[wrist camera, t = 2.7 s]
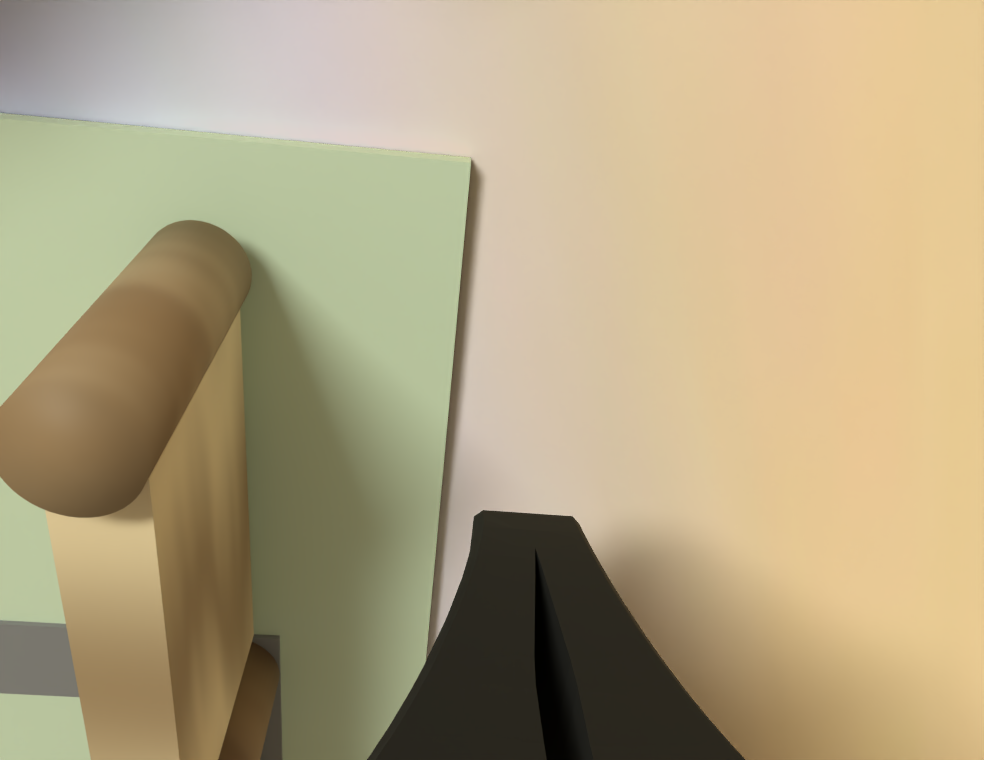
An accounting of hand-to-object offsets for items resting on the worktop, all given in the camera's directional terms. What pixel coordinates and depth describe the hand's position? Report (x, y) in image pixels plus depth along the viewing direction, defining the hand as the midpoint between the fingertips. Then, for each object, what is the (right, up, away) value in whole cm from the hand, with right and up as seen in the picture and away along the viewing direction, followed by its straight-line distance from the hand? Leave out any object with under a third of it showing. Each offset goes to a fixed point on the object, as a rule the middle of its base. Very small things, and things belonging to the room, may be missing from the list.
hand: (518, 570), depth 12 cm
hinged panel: (-5, +1, +3) cm, 6 cm away
